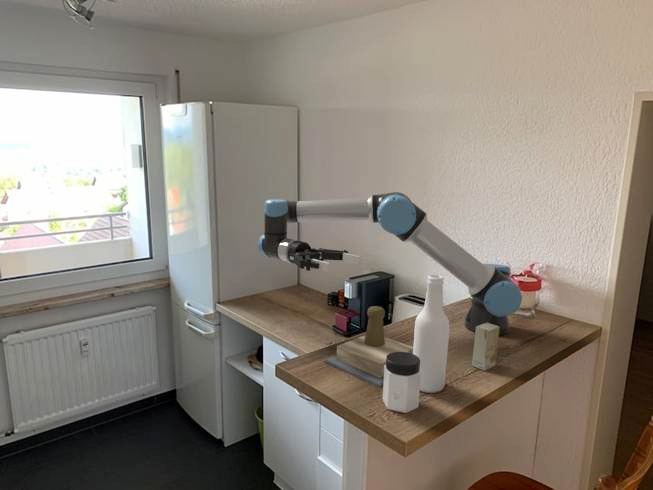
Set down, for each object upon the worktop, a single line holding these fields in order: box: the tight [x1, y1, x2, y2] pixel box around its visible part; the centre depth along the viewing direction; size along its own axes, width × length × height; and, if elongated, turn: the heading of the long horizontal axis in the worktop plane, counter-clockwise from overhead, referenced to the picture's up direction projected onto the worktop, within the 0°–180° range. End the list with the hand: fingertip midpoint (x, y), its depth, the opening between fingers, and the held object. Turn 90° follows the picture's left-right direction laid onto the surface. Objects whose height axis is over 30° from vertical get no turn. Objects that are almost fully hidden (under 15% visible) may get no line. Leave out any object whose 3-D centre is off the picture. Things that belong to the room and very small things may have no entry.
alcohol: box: [412, 274, 451, 394], centre depth 128 cm, size 9×9×30 cm
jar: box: [382, 352, 421, 414], centre depth 120 cm, size 9×8×12 cm
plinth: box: [323, 334, 413, 387], centre depth 144 cm, size 22×20×5 cm
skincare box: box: [471, 323, 500, 371], centre depth 143 cm, size 6×4×12 cm
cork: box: [364, 305, 386, 347], centre depth 145 cm, size 6×6×11 cm
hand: (344, 264), depth 144 cm, fingers open, 13 cm apart
